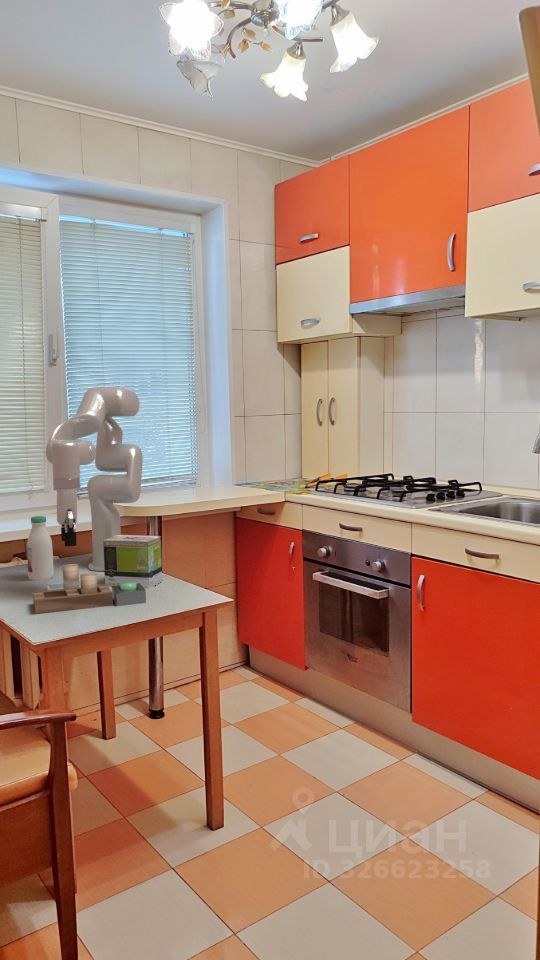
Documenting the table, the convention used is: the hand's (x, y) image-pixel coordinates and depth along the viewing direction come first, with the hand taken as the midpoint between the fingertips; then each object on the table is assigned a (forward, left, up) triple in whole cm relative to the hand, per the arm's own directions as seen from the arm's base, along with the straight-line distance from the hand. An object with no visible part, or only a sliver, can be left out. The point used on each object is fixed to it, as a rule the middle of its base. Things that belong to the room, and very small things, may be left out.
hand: (68, 543), depth 203 cm
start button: (+15, +14, -13) cm, 24 cm away
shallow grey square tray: (0, 0, -15) cm, 15 cm away
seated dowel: (+13, +4, -15) cm, 20 cm away
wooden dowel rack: (+13, -1, -15) cm, 20 cm away
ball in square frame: (+15, +14, -15) cm, 26 cm away
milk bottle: (-23, -7, -16) cm, 29 cm away
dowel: (0, 0, -15) cm, 15 cm away
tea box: (-4, +19, -16) cm, 25 cm away
